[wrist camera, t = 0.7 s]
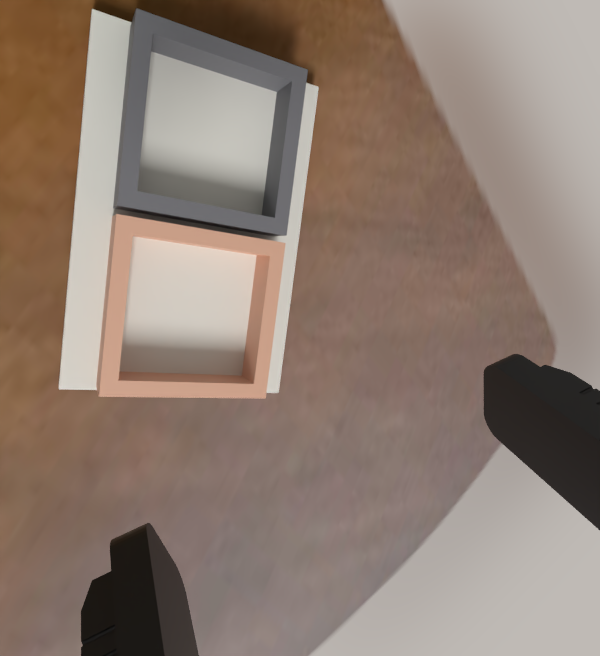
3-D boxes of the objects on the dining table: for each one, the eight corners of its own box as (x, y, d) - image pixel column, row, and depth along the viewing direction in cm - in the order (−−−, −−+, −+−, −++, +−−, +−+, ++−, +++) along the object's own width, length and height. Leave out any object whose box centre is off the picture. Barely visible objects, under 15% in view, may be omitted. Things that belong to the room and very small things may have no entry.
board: (58, 383, 25) (58, 400, 22) (90, 19, 24) (95, -12, 21) (270, 388, 31) (292, 402, 28) (309, 92, 29) (336, 76, 26)
